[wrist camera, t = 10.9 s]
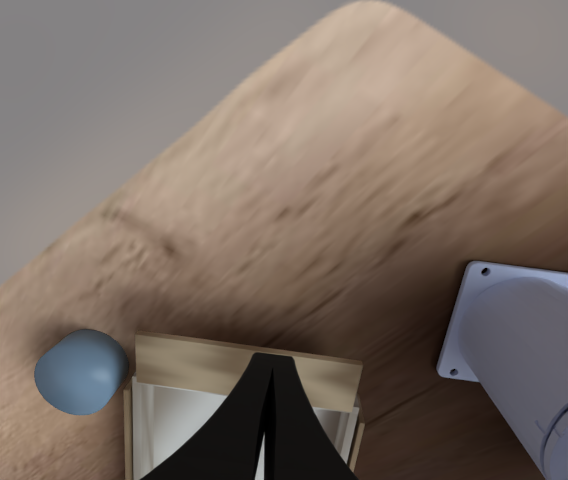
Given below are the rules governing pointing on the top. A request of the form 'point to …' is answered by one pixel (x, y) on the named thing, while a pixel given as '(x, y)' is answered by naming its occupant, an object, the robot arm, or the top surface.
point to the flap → (239, 368)
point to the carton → (193, 415)
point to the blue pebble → (81, 372)
